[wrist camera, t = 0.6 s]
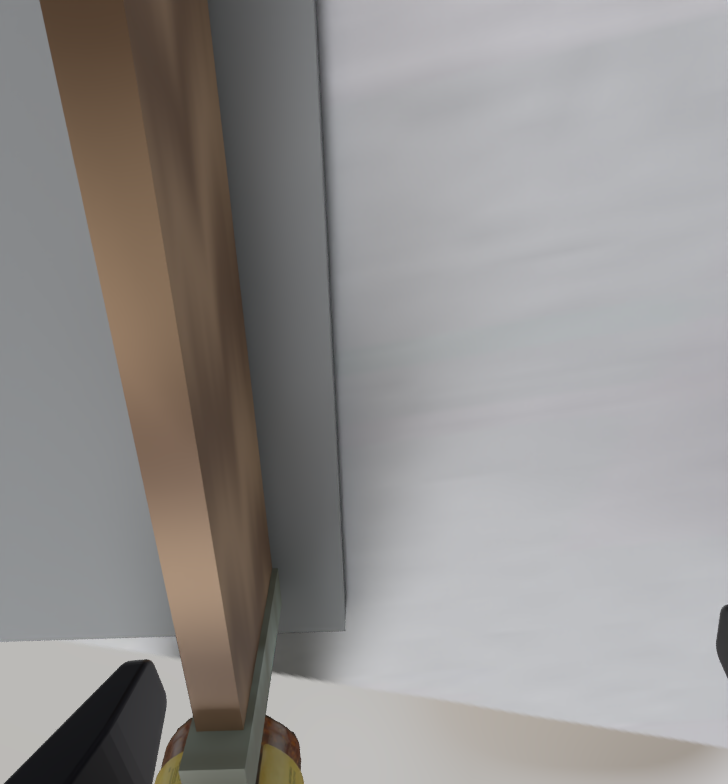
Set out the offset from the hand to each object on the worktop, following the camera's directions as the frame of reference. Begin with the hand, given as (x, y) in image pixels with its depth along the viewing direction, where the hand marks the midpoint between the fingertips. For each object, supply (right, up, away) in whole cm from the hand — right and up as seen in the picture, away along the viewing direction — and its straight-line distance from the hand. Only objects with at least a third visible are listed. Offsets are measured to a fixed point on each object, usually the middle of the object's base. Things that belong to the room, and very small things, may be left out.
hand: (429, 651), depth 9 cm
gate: (-5, +6, +7) cm, 11 cm away
